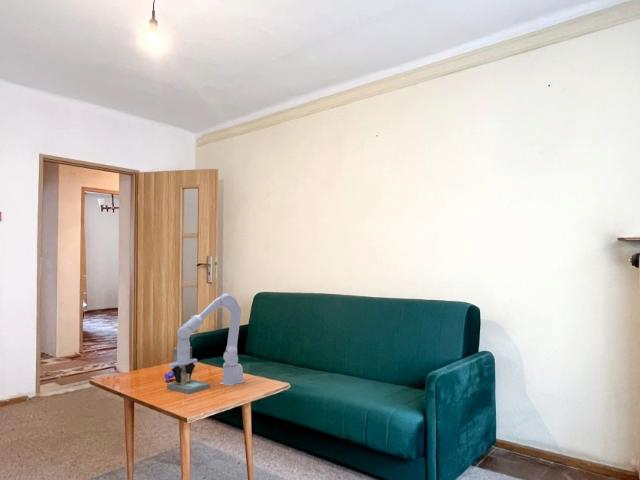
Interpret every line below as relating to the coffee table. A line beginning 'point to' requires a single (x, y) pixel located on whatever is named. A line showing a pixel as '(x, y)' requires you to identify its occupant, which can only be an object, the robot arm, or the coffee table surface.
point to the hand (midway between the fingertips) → (183, 381)
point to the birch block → (184, 378)
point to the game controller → (169, 375)
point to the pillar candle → (176, 358)
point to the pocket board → (189, 386)
